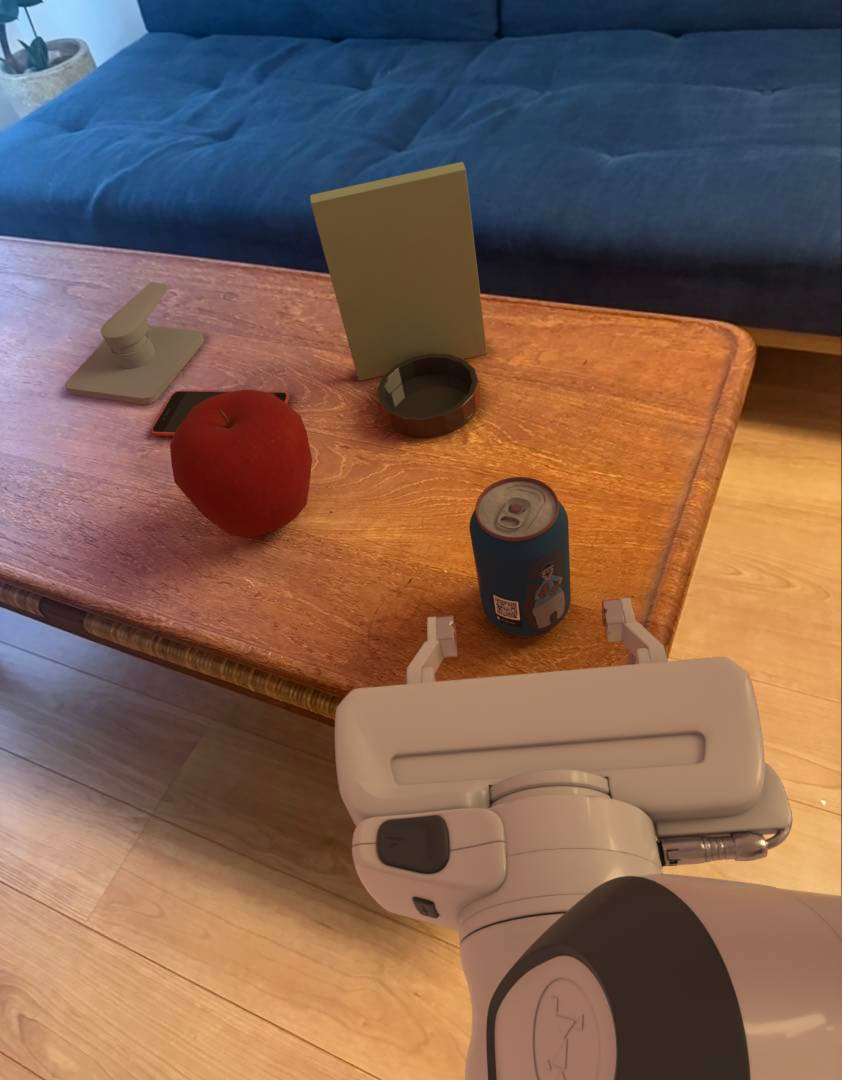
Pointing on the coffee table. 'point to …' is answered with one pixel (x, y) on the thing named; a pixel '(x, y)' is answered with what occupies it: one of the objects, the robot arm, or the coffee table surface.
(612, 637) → the robot arm
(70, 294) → the coffee table surface
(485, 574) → the soda can
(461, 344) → the olive green plank
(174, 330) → the shower valve
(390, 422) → the holder
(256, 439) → the apple
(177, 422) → the smartphone
